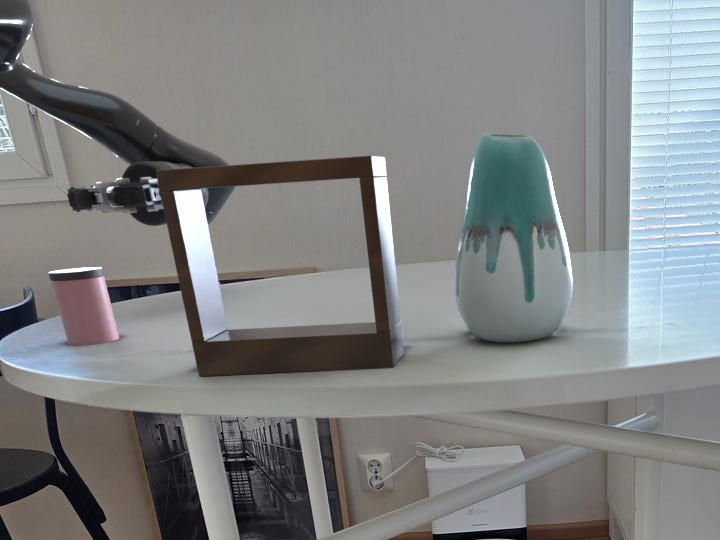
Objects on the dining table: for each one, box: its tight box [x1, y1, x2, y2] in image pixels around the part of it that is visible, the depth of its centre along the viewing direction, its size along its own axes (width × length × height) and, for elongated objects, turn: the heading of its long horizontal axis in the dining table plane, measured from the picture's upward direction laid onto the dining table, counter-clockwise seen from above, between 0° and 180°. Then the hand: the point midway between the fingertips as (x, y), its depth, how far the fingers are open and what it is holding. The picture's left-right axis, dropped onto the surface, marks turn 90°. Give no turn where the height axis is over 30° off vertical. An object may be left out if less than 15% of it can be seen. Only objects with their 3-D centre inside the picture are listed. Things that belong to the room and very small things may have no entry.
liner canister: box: [47, 266, 120, 346], centre depth 96 cm, size 6×6×8 cm
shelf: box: [156, 155, 405, 377], centre depth 76 cm, size 18×6×16 cm, turn 86°
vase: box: [454, 132, 574, 343], centre depth 82 cm, size 12×12×18 cm
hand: (107, 197), depth 101 cm, fingers open, 8 cm apart
